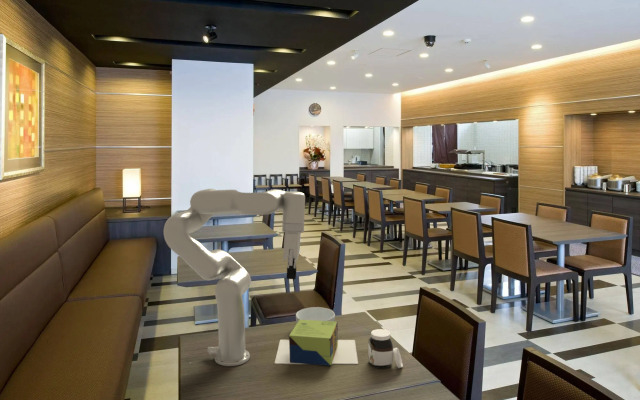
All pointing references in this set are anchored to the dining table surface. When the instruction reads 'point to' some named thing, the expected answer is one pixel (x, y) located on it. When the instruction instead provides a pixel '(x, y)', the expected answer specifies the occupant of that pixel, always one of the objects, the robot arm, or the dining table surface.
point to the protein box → (313, 342)
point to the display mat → (342, 356)
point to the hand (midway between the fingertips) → (291, 278)
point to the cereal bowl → (315, 314)
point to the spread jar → (382, 350)
